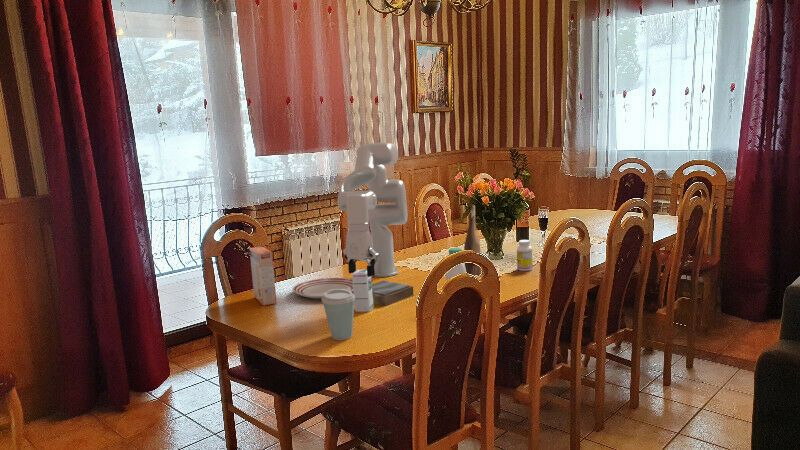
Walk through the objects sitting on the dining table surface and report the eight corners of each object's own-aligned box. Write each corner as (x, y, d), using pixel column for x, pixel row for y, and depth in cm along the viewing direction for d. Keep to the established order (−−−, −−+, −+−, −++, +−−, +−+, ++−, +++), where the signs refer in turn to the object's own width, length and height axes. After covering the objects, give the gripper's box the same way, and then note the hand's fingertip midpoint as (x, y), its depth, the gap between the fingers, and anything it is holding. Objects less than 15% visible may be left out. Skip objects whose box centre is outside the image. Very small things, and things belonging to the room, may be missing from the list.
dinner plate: (339, 280, 262) (338, 272, 261) (373, 292, 240) (373, 284, 239) (281, 293, 246) (281, 285, 245) (313, 308, 224) (312, 299, 224)
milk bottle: (446, 304, 219) (443, 251, 215) (447, 298, 226) (445, 246, 223) (467, 304, 217) (465, 251, 214) (467, 297, 225) (465, 246, 221)
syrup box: (370, 312, 215) (367, 273, 213) (354, 311, 216) (351, 273, 214) (374, 307, 221) (371, 269, 218) (358, 306, 222) (356, 269, 219)
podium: (355, 299, 232) (355, 289, 231) (384, 289, 243) (383, 279, 242) (385, 306, 221) (384, 295, 220) (413, 295, 232) (413, 285, 232)
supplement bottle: (516, 267, 264) (515, 239, 262) (531, 267, 264) (530, 238, 262) (518, 271, 258) (517, 242, 255) (533, 271, 257) (533, 242, 255)
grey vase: (456, 283, 246) (453, 207, 239) (463, 275, 257) (460, 202, 250) (483, 285, 242) (480, 208, 235) (488, 276, 253) (486, 202, 246)
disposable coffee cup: (363, 332, 194) (360, 288, 192) (348, 344, 185) (344, 298, 182) (335, 329, 199) (332, 286, 196) (318, 341, 189) (314, 296, 186)
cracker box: (277, 303, 232) (272, 251, 228) (262, 306, 229) (257, 253, 225) (268, 295, 244) (263, 245, 240) (253, 297, 241) (248, 247, 238)
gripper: (334, 227, 216) (338, 273, 219) (368, 231, 204) (371, 279, 207) (349, 224, 221) (352, 269, 224) (383, 227, 210) (386, 275, 212)
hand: (361, 274), depth 216 cm, fingers open, 9 cm apart
